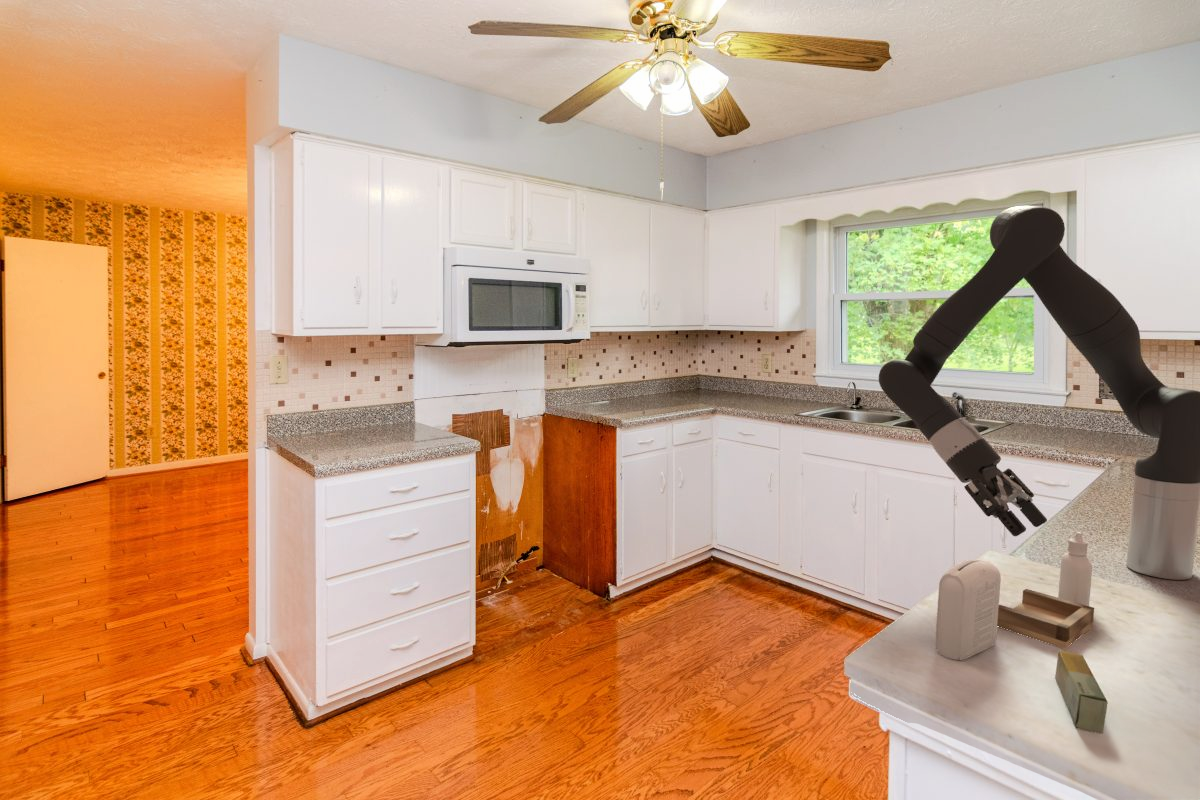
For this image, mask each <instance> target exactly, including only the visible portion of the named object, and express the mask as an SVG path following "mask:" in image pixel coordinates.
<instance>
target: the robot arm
mask: <svg viewBox="0 0 1200 800" xmlns="http://www.w3.org/2000/svg"><path fill="white" fill-rule="evenodd" d="M1065 230H1066V227H1065V223H1064V220H1063V218H1062V216H1061V215H1060V214H1059V213H1058V212H1057V211H1055V210H1053V209H1052V208H1049V207H1045V206H1039V205H1017V206H1012V207H1009V208H1006V209H1004V210H1003V211H1001V212H1000V213H999V214H997V215H996V217H995V218H994V219H993V221H992V223H991V226H990V230H989V239H990V243H991V246H992V248H993V252H992V254H991V255H990V256H989V258H988V259H987V261H986V262H985V263H984V265H983V266H982V267H981V268H980V269H979V270H977V272H976V273H975V274H974V275H973V277H972V278H970V279H969V280H968V281H967V282H966V283H964V285H962V286H961V287H960V288H959V289H957V291H955V292H954V293H952V294H951V295H950V296H949V297H948V298H947V299H946V300H945V301H943V303H941V304H940V305H939V306H938V307H937V309H936V310H935V311H933V313H932V314H931V316H930V317H929V318H928V319H927V321H925V323H924V324H923V325H922V326H921V328H919V330H918V331H917V333H916V334H915V336H914V338H913V339H912V340H913V341H912V343H913V346H912V348H911V349H910V351H909V353H908V354H907V355H906V357H905V359H892V360H890V361H888V362H886V363H884V365H882V367H880V370H879V373H878V383H879V386H880V388H881V390H882V391H883V393H884V394H885V395H886V396H887V397H888V398H889V400H890V401H891V402H892V403H893V404H894V405H896V406H897V407H898V408H899V410H901V412H903V413H904V414H905V415H906V416H908V417H909V419H911V421H912V422H913V423H914V424H915V425H916V427H917V428H918V429H919V431H920V432H921V434H922V435H923V436H924V437H925V438H926V439H927V440H928V442H929V443H930V444H931V446H932V448H933V449H934V451H935V452H936V454H937V455H938V456H939V457H940V458H941V459H942V461H943V462H944V463H945V464H946V465H947V467H948V468H949V469H950V470H951V471H952V473H953V474H954V475H955V476H956V478H957V479H958V480H959V481H960V483H962V484H966V485H964V489H965V491H966V492H967V494H969V495H970V497H971V498H972V499H973V501H974V502H975V503H976V505H977V506H978V507H979V509H980V510H981V511H982V512H983V514H984V515H986V517H990V516H992V517H993V518H995V519H997V518H998V520H999V521H1000V522H1001V524H1002V525H1003V526H1004V527H1005V528H1006V530H1008V532H1009V533H1010V534H1011V535H1012V536H1013V537H1019V536H1020V535H1021V534H1023V533H1025V532H1027V527H1026V526H1025V525H1024V524H1023V523H1022V522H1021V520H1020V519H1019V517H1017V515H1015V513H1014V512H1013V511H1012V510H1010V508H1009V506H1008V503H1010V504H1012V505H1014V506H1015V507H1016V508H1018V509H1019V511H1020V512H1021V514H1023V516H1024V517H1025V518H1026V519H1027V520H1028V521H1029V523H1031V525H1032V526H1033V527H1035V528H1038V527H1040V526H1042V525H1043V524H1046V523H1047V522H1048V521H1047V520H1048V519H1047V517H1046V516H1045V515H1044V514H1043V513H1042V512H1041V510H1040V509H1039V508H1038V507H1037V506H1036V504H1035V503H1033V501H1034V500H1033V499H1032V498H1034V497H1035V494H1034V493H1033V492H1032V491H1031V489H1030V488H1029V487H1028V486H1027V485H1026V484H1025V483H1024V482H1023V481H1022V479H1020V477H1019V476H1018V475H1016V473H1015V472H1014V471H1013V470H1012V469H1011V468H1007V469H1005V470H1003V471H1002V470H1001V469H1000V468H998V467H997V465H998V464H999V463H1000V462H1001V460H1002V458H1001V456H1000V455H999V454H998V452H997V451H996V450H995V449H994V448H993V447H992V445H991V444H989V442H988V441H987V440H986V439H985V438H984V437H983V436H982V434H981V433H980V432H979V431H978V430H977V429H976V427H974V426H973V424H971V423H970V422H969V421H967V419H965V418H964V416H963V415H962V414H961V413H960V412H959V411H958V410H957V409H956V408H955V406H954V405H953V404H952V403H951V402H950V401H949V400H948V399H947V398H945V397H944V396H942V395H940V394H939V393H938V392H937V391H936V390H935V389H934V388H933V387H932V384H933V383H934V381H935V379H936V378H937V376H938V375H939V373H940V372H941V370H942V369H943V368H944V367H943V366H944V365H945V363H946V361H947V359H949V357H950V356H952V354H953V353H954V352H955V351H956V350H957V348H959V346H960V345H961V344H962V342H963V343H964V340H965V339H966V338H967V337H968V336H969V334H971V332H972V331H973V330H974V329H975V328H976V326H978V324H979V323H980V322H981V321H982V320H983V319H984V317H985V316H986V315H988V313H989V312H990V311H991V310H992V309H993V308H994V307H996V305H997V304H998V303H999V302H1000V301H1001V300H1002V299H1003V298H1004V297H1005V296H1006V295H1007V294H1009V292H1010V291H1012V289H1013V288H1015V286H1016V285H1017V284H1019V283H1020V282H1021V281H1022V280H1023V279H1024V280H1025V281H1026V282H1027V284H1029V286H1030V287H1031V288H1032V290H1033V291H1034V292H1035V294H1036V295H1037V297H1038V298H1039V300H1040V301H1041V303H1042V304H1043V306H1044V307H1045V309H1046V310H1047V312H1048V313H1049V314H1050V316H1051V317H1052V318H1053V320H1054V321H1055V323H1056V324H1057V325H1058V326H1059V328H1060V330H1062V332H1063V333H1064V334H1065V336H1066V337H1067V338H1068V340H1069V341H1070V342H1071V344H1073V346H1074V347H1075V348H1076V349H1077V350H1078V351H1079V353H1080V354H1081V355H1082V356H1083V357H1084V358H1085V360H1086V361H1087V362H1088V363H1089V364H1090V366H1091V367H1092V369H1093V370H1094V371H1095V372H1096V373H1097V375H1098V376H1099V378H1101V379H1102V381H1103V382H1104V383H1105V385H1106V386H1107V387H1108V389H1109V390H1110V392H1111V393H1112V395H1113V397H1114V398H1115V400H1116V402H1117V404H1119V406H1120V408H1121V410H1122V411H1123V413H1124V414H1125V416H1126V418H1127V419H1128V421H1129V422H1130V423H1131V425H1132V426H1133V428H1135V429H1136V430H1137V431H1139V432H1140V433H1142V434H1144V435H1145V436H1149V437H1151V438H1152V437H1153V438H1157V439H1158V442H1157V447H1156V450H1155V452H1154V453H1153V454H1152V455H1149V456H1144V457H1139V458H1138V459H1137V460H1136V462H1135V466H1134V475H1133V476H1134V477H1133V486H1132V487H1133V488H1132V498H1131V509H1130V520H1129V521H1130V522H1129V529H1128V531H1129V532H1128V540H1127V541H1128V542H1127V552H1126V566H1127V568H1128V569H1130V570H1132V571H1134V572H1136V573H1138V574H1143V575H1147V576H1151V577H1155V578H1159V579H1167V580H1177V581H1178V580H1179V581H1180V580H1181V581H1182V580H1190V579H1192V577H1193V573H1194V571H1193V570H1194V562H1195V553H1196V545H1197V536H1198V535H1197V534H1198V526H1199V525H1198V524H1199V515H1200V391H1199V390H1193V389H1188V388H1177V387H1176V388H1175V387H1169V386H1167V385H1166V384H1164V383H1162V382H1161V380H1159V378H1158V377H1156V376H1155V374H1154V373H1153V372H1152V371H1151V369H1150V368H1149V367H1148V366H1147V364H1146V363H1145V361H1144V359H1143V356H1142V349H1141V347H1142V346H1141V343H1142V342H1141V334H1140V330H1139V327H1138V325H1137V323H1136V320H1134V318H1133V317H1132V316H1131V314H1130V313H1129V312H1128V311H1127V309H1126V308H1125V307H1124V306H1123V304H1122V303H1121V302H1120V301H1119V299H1118V298H1117V297H1116V296H1115V295H1114V294H1113V293H1112V292H1111V291H1110V290H1109V289H1108V288H1106V287H1105V286H1104V285H1103V284H1101V283H1100V282H1099V281H1098V280H1097V279H1096V278H1094V277H1093V276H1092V275H1090V274H1089V273H1088V272H1086V271H1085V270H1084V269H1082V268H1081V267H1080V266H1079V265H1078V264H1076V263H1075V262H1074V261H1073V260H1072V259H1071V258H1070V256H1069V255H1068V254H1067V253H1066V252H1065V250H1064V248H1062V246H1061V243H1062V242H1063V238H1064V236H1065Z"/></svg>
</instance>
